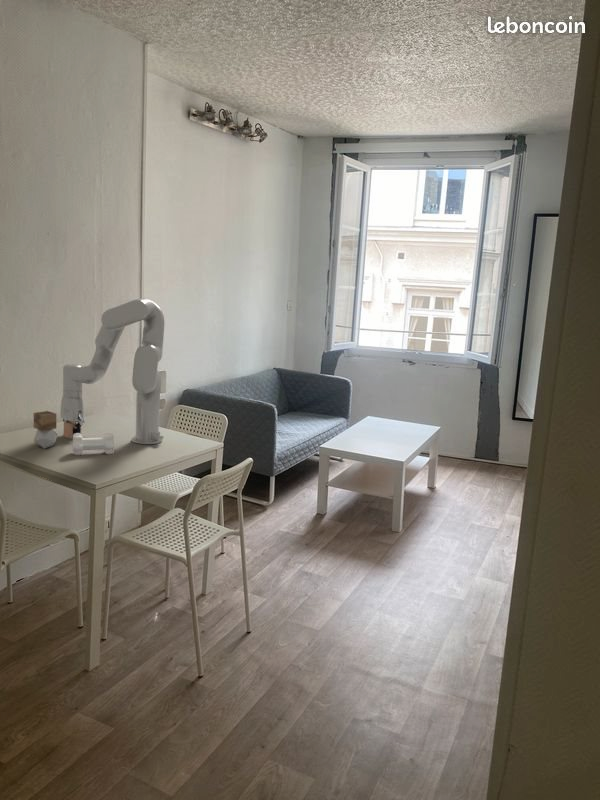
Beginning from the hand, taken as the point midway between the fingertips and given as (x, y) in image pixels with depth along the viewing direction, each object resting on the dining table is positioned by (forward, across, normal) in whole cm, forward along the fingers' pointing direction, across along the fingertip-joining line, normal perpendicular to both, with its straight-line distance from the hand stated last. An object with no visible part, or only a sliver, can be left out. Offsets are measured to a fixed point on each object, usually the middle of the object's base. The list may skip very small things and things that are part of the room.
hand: (72, 435), depth 265 cm
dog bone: (+1, +27, -9) cm, 28 cm away
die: (+1, +7, -17) cm, 18 cm away
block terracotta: (+1, 0, 0) cm, 1 cm away
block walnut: (-7, +7, -18) cm, 20 cm away
